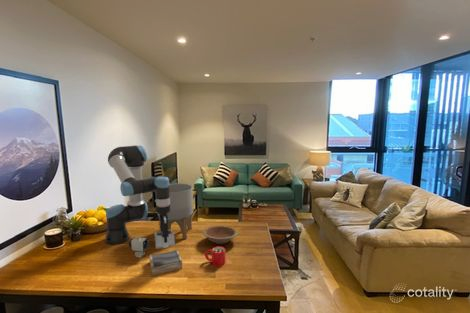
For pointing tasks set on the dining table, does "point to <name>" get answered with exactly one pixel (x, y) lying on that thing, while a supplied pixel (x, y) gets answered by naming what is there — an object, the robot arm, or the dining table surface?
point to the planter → (180, 207)
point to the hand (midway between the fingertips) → (164, 244)
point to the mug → (216, 256)
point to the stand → (165, 262)
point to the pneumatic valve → (139, 245)
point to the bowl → (220, 233)
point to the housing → (160, 239)
